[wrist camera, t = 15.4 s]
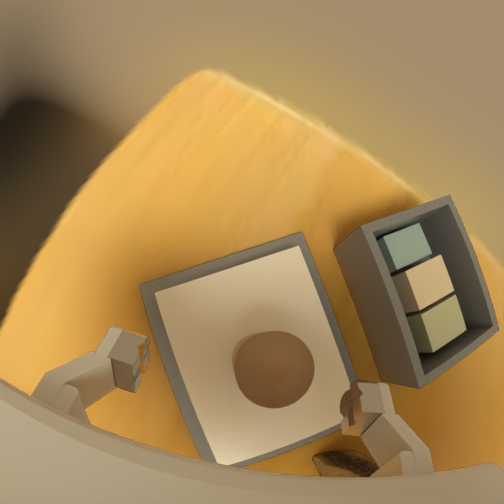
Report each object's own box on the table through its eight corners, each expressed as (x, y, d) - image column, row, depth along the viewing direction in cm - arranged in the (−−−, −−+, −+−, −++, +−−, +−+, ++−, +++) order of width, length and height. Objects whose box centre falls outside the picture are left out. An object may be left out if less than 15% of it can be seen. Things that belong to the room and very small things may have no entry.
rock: (407, 518, 21) (428, 445, 22) (389, 567, 14) (420, 492, 15) (317, 504, 27) (327, 435, 28) (281, 545, 20) (290, 471, 21)
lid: (348, 407, 26) (407, 435, 16) (219, 456, 24) (217, 514, 14) (292, 253, 30) (326, 208, 19) (161, 296, 28) (125, 273, 17)
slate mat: (366, 413, 27) (369, 414, 26) (209, 473, 24) (209, 476, 23) (300, 233, 31) (302, 231, 30) (140, 286, 28) (138, 285, 28)
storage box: (457, 334, 29) (499, 329, 23) (381, 380, 28) (419, 388, 21) (414, 219, 32) (449, 194, 26) (332, 249, 31) (360, 225, 24)
